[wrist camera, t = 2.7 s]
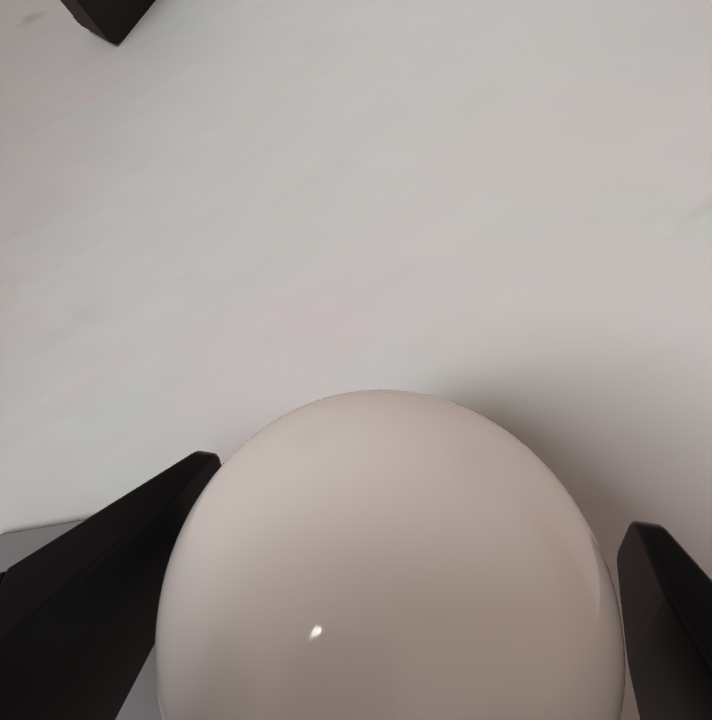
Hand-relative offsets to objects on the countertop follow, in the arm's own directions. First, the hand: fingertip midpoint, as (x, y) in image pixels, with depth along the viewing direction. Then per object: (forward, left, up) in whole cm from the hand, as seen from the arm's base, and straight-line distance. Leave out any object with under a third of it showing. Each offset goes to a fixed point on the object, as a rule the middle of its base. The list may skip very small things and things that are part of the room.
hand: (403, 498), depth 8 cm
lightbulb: (-1, 0, -7) cm, 7 cm away
